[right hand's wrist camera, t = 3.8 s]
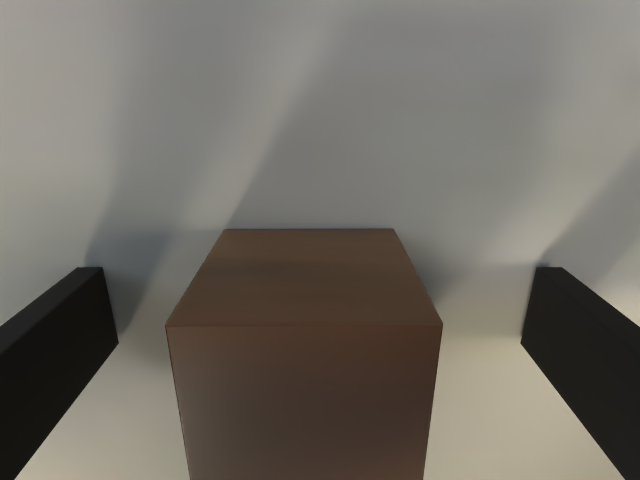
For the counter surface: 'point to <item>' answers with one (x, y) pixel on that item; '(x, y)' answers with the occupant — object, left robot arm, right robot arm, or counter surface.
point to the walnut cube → (305, 358)
